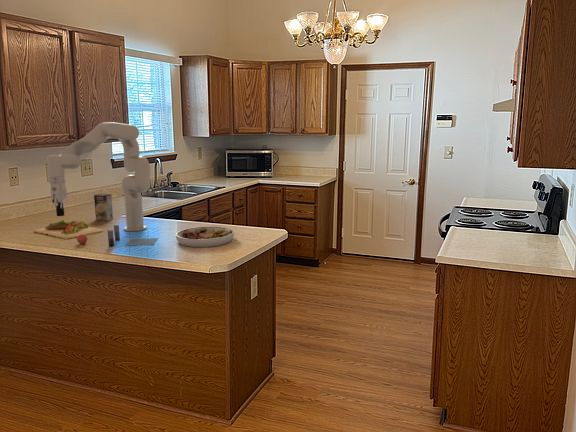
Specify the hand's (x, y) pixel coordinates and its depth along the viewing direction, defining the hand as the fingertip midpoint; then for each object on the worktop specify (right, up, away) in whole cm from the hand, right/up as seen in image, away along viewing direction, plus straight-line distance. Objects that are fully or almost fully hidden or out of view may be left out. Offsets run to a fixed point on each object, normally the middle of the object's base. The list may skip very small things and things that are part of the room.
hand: (60, 215), depth 252 cm
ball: (+10, -12, +3) cm, 16 cm away
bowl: (+72, -14, +7) cm, 74 cm away
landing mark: (+39, -14, +6) cm, 42 cm away
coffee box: (-2, -2, +66) cm, 66 cm away
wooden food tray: (-10, -10, +33) cm, 36 cm away
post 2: (+25, -13, +11) cm, 30 cm away
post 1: (+26, -15, -1) cm, 30 cm away
